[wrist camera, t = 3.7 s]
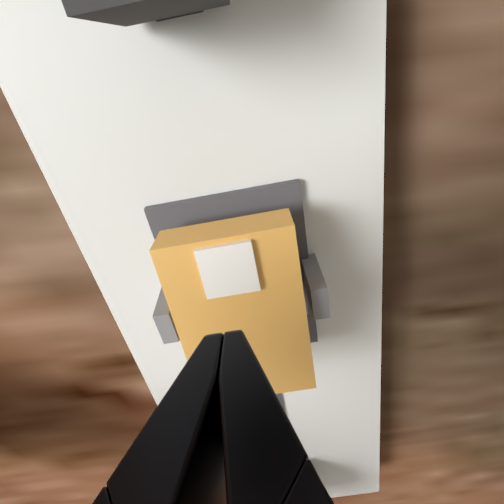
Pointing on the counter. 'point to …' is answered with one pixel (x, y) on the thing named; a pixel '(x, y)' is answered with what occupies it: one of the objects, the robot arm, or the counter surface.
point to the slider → (135, 9)
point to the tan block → (240, 290)
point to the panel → (224, 174)
